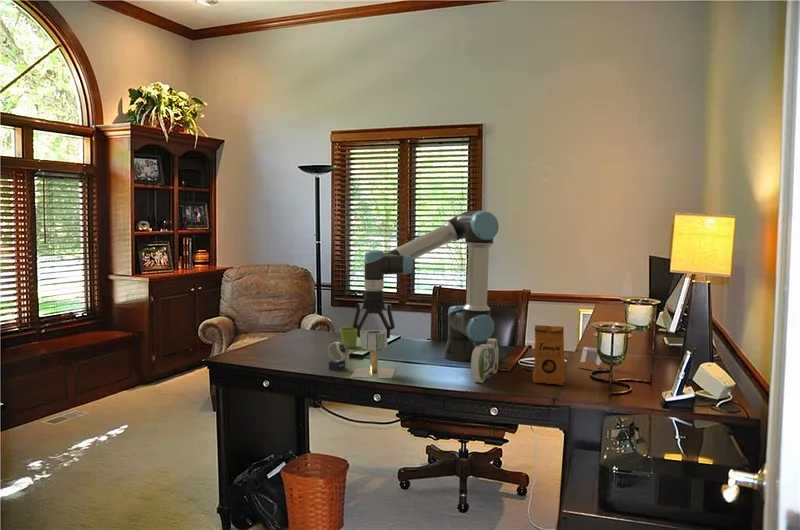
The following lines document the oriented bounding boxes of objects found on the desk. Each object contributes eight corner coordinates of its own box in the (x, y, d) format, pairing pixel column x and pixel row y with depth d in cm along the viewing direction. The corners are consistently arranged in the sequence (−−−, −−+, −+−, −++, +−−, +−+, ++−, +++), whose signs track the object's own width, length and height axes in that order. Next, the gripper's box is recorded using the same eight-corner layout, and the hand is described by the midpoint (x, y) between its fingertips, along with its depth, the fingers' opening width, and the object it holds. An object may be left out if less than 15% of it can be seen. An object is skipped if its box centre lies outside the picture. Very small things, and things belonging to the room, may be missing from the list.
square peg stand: (395, 369, 257) (396, 342, 256) (391, 378, 243) (391, 349, 242) (357, 368, 259) (357, 341, 258) (350, 377, 245) (350, 348, 244)
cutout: (492, 337, 256) (471, 344, 233) (499, 337, 255) (478, 344, 232) (491, 374, 256) (470, 384, 234) (497, 374, 255) (477, 385, 233)
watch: (341, 371, 253) (341, 344, 252) (325, 369, 257) (324, 342, 256) (349, 368, 258) (349, 342, 257) (332, 366, 262) (332, 340, 261)
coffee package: (564, 388, 231) (566, 329, 229) (530, 384, 236) (532, 326, 234) (567, 381, 241) (568, 324, 239) (534, 378, 245) (535, 322, 243)
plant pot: (358, 349, 294) (358, 330, 293) (338, 349, 294) (338, 330, 293) (360, 344, 303) (360, 327, 302) (340, 344, 303) (340, 327, 302)
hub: (386, 344, 254) (386, 330, 253) (383, 349, 245) (383, 334, 244) (364, 344, 255) (364, 330, 254) (360, 349, 246) (360, 334, 245)
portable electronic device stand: (577, 368, 260) (578, 348, 259) (586, 365, 265) (586, 345, 265) (597, 372, 254) (597, 352, 253) (605, 368, 260) (606, 349, 259)
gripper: (344, 290, 245) (344, 347, 247) (400, 291, 243) (399, 349, 245) (348, 288, 253) (348, 343, 255) (402, 289, 250) (402, 344, 252)
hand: (373, 346), depth 250 cm, fingers closed on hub, 9 cm apart
